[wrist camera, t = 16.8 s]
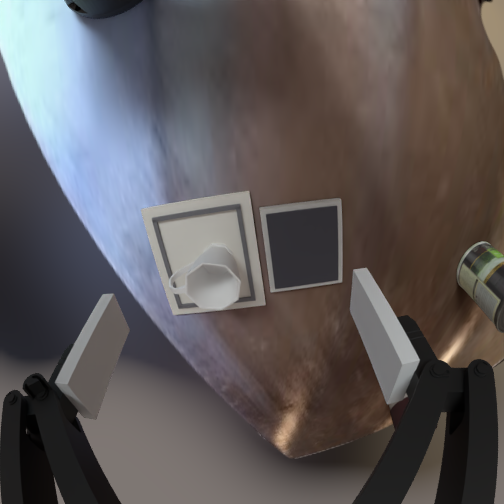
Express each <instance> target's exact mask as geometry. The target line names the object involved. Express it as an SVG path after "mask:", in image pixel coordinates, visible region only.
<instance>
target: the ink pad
mask: <svg viewBox="0 0 504 504" xmlns="http://www.w3.org/2000/svg"><path fill="white" fill-rule="evenodd" d="M259 209H260V216H261V223H262V231H263V238H264V245H265V253H266V260H267V268H268V275H269V283H270V291H271V292H279V291H286V290H293V289H301V288H308V287H314V286H321V285H328V284H334V283H341V282H342V258H343V251H342V202H341V199H340V198H333V199H324V200H315V201H306V202H298V203H290V204H282V205H274V206H266V207H259Z"/></svg>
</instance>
